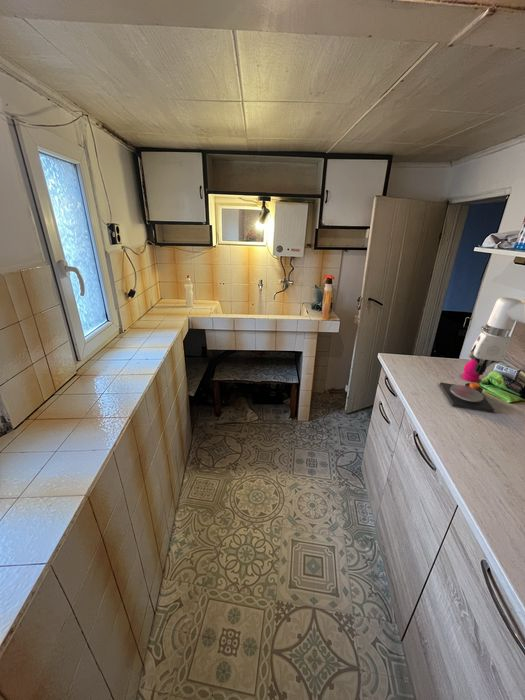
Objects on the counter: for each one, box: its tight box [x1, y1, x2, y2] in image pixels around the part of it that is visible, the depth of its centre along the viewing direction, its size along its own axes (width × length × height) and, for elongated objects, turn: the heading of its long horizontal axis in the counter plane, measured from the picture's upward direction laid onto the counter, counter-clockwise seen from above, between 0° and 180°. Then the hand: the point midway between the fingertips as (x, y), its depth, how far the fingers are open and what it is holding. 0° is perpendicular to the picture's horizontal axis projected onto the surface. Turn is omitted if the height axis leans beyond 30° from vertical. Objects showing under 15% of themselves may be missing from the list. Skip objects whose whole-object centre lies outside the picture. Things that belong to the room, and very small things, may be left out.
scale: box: [438, 382, 495, 414], centre depth 113 cm, size 15×16×3 cm
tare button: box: [469, 381, 481, 390], centre depth 116 cm, size 3×3×2 cm
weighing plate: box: [450, 384, 485, 402], centre depth 111 cm, size 11×11×1 cm
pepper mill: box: [461, 358, 481, 383], centre depth 125 cm, size 7×7×20 cm
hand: (478, 372), depth 114 cm, fingers closed
